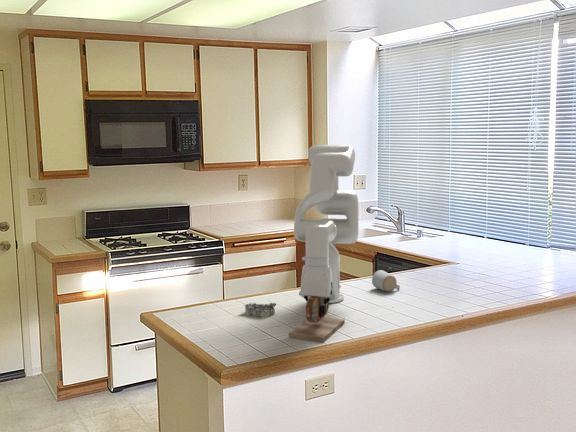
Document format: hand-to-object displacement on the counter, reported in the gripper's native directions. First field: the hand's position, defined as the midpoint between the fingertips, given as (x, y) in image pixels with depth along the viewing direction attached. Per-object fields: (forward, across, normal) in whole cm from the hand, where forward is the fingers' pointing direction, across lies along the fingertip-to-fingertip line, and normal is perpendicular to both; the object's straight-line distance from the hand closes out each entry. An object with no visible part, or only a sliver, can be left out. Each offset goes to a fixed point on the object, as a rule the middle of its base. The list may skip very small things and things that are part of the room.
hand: (317, 315), depth 210 cm
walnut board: (+5, 0, 0) cm, 5 cm away
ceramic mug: (+5, +8, +58) cm, 59 cm away
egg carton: (+6, -26, +10) cm, 28 cm away
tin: (+1, 0, 0) cm, 2 cm away
